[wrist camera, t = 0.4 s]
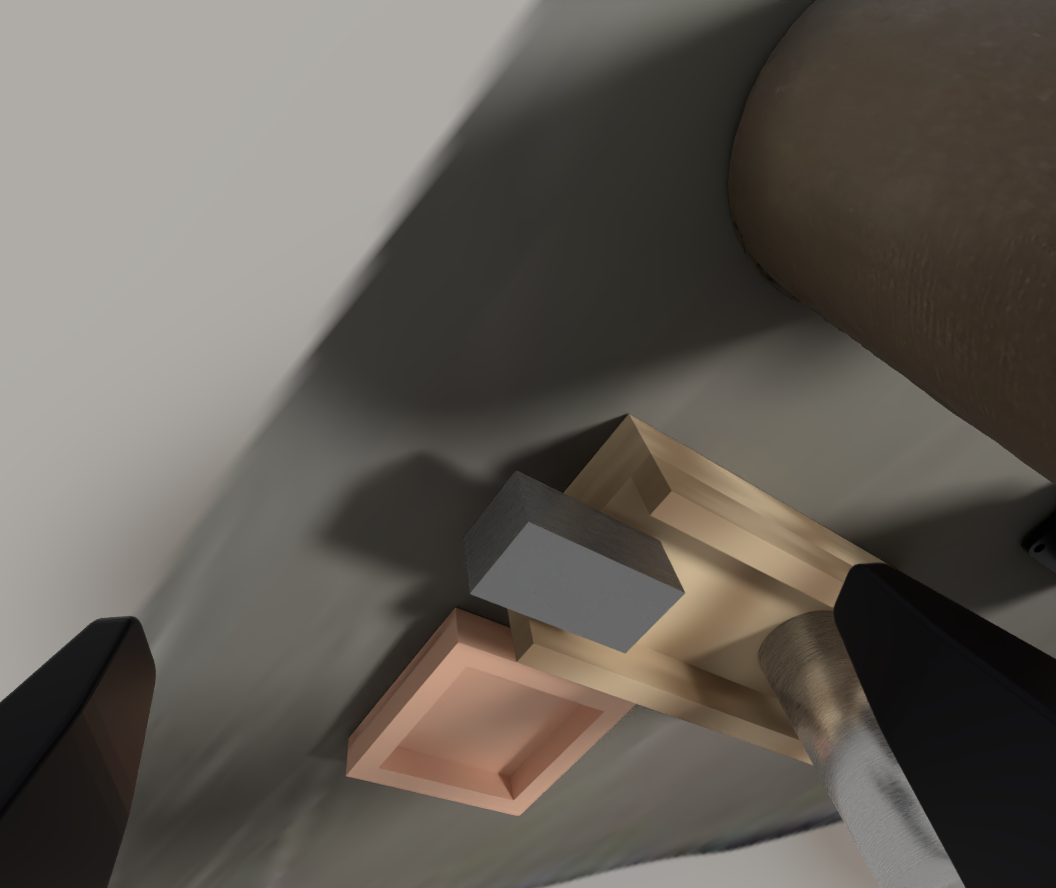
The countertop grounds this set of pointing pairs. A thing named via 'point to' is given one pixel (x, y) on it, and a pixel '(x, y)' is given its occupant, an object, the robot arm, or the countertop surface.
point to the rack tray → (478, 722)
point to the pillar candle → (917, 196)
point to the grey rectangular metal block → (569, 565)
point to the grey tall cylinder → (852, 753)
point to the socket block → (699, 588)
